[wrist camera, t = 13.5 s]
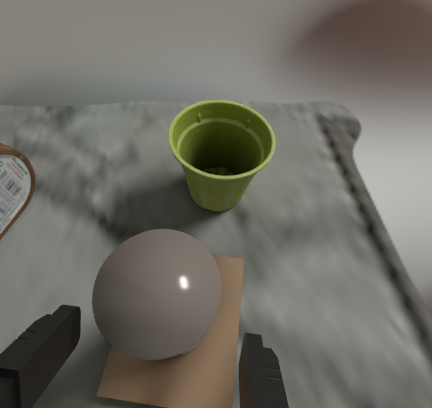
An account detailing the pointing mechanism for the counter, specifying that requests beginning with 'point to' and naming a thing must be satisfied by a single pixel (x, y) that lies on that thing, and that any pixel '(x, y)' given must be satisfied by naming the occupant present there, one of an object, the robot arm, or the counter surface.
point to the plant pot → (220, 150)
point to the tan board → (186, 360)
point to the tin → (14, 185)
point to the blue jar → (157, 294)
